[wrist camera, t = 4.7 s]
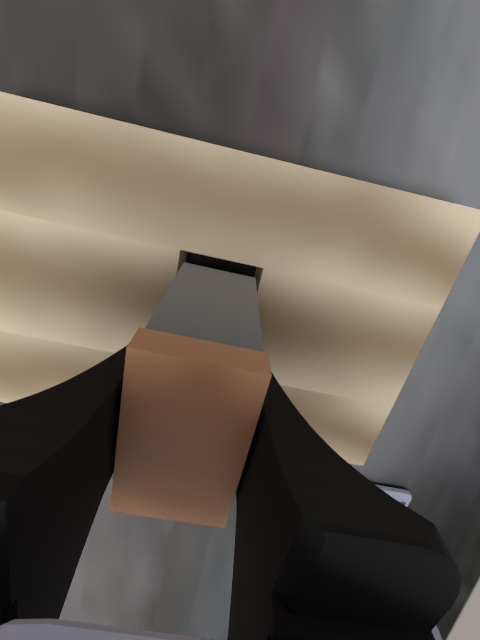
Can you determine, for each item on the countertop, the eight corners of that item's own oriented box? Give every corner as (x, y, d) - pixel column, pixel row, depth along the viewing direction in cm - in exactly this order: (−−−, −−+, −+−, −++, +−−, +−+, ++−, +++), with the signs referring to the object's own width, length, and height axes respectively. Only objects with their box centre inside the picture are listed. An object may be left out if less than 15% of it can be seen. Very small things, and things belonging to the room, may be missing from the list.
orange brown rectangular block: (232, 379, 17) (224, 528, 10) (164, 366, 16) (109, 510, 10) (258, 275, 15) (271, 375, 8) (181, 259, 14) (126, 347, 8)
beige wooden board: (348, 428, 22) (363, 465, 20) (26, 369, 21) (-7, 400, 18) (449, 203, 17) (489, 212, 14) (17, 97, 15) (-33, 83, 12)
